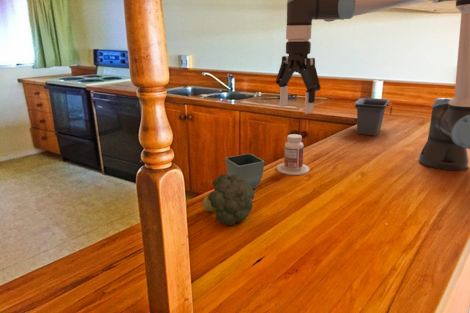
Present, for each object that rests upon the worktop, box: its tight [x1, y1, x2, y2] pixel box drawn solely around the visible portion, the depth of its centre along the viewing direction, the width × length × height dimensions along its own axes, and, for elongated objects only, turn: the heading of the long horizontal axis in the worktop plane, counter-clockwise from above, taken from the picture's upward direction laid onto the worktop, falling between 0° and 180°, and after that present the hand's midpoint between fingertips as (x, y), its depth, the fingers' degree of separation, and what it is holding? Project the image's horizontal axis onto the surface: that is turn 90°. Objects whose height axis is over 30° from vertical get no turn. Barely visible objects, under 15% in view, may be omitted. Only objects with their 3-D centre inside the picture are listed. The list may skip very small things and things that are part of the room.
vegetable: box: [202, 173, 255, 227], centre depth 93 cm, size 12×13×15 cm
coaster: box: [276, 163, 310, 176], centre depth 127 cm, size 11×11×1 cm
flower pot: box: [225, 153, 265, 190], centre depth 111 cm, size 9×9×9 cm
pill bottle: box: [284, 133, 304, 170], centre depth 125 cm, size 6×6×11 cm
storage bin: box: [354, 97, 393, 136], centre depth 173 cm, size 21×16×14 cm
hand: (295, 109), depth 120 cm, fingers open, 13 cm apart
